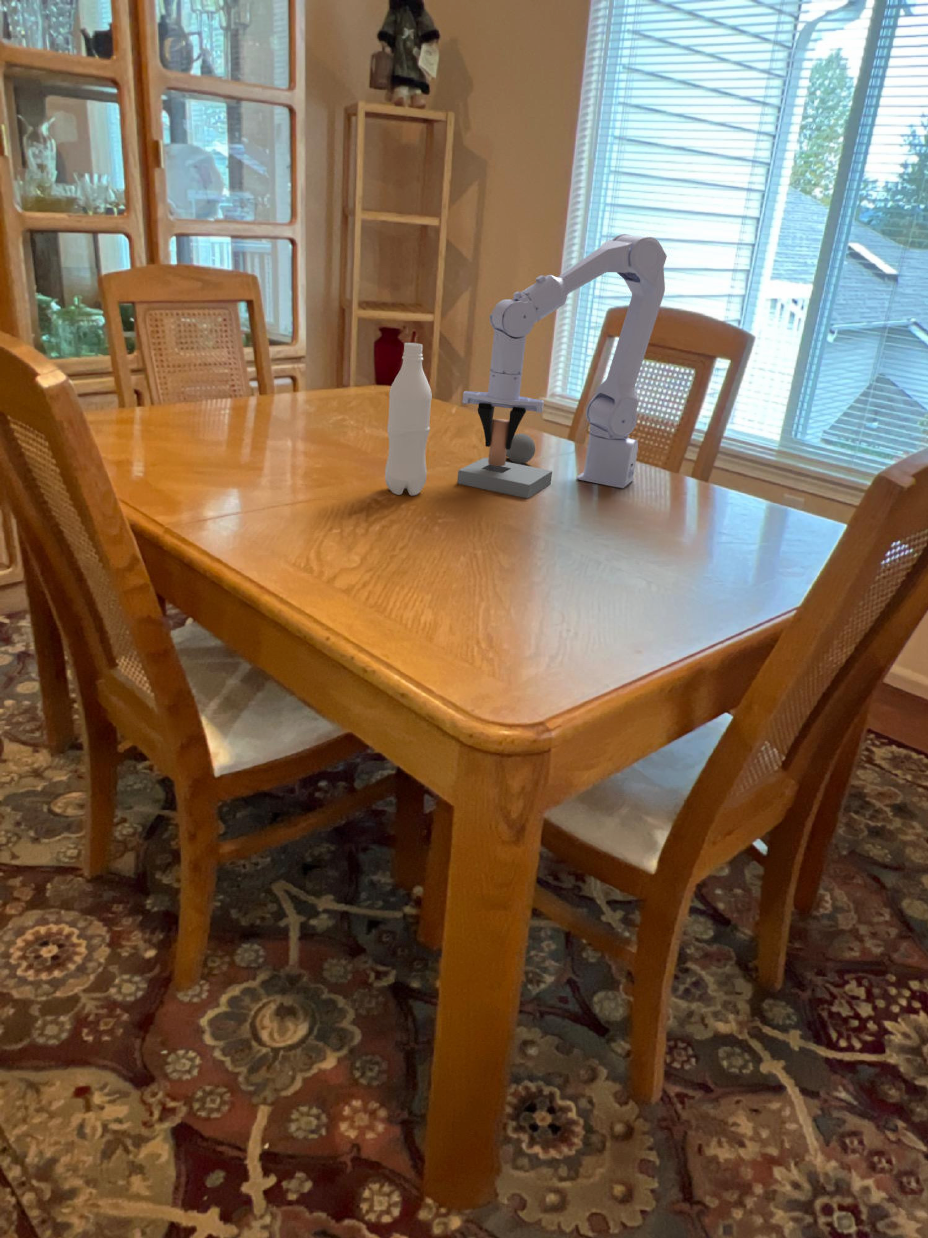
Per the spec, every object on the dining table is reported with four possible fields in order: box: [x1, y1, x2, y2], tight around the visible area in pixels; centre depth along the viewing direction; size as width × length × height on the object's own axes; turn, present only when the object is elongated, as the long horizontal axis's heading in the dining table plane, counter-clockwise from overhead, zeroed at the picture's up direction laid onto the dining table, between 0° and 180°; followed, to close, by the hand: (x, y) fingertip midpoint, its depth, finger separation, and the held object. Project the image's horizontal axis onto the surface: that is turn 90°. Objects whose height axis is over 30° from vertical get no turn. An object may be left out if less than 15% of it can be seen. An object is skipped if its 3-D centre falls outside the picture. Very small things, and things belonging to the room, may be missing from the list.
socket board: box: [456, 457, 553, 499], centre depth 165 cm, size 14×12×2 cm
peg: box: [488, 418, 510, 466], centre depth 163 cm, size 3×3×8 cm
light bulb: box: [506, 433, 536, 465], centre depth 181 cm, size 6×6×10 cm
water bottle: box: [384, 342, 433, 497], centre depth 150 cm, size 7×7×25 cm
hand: (498, 446), depth 164 cm, fingers closed on peg, 3 cm apart
